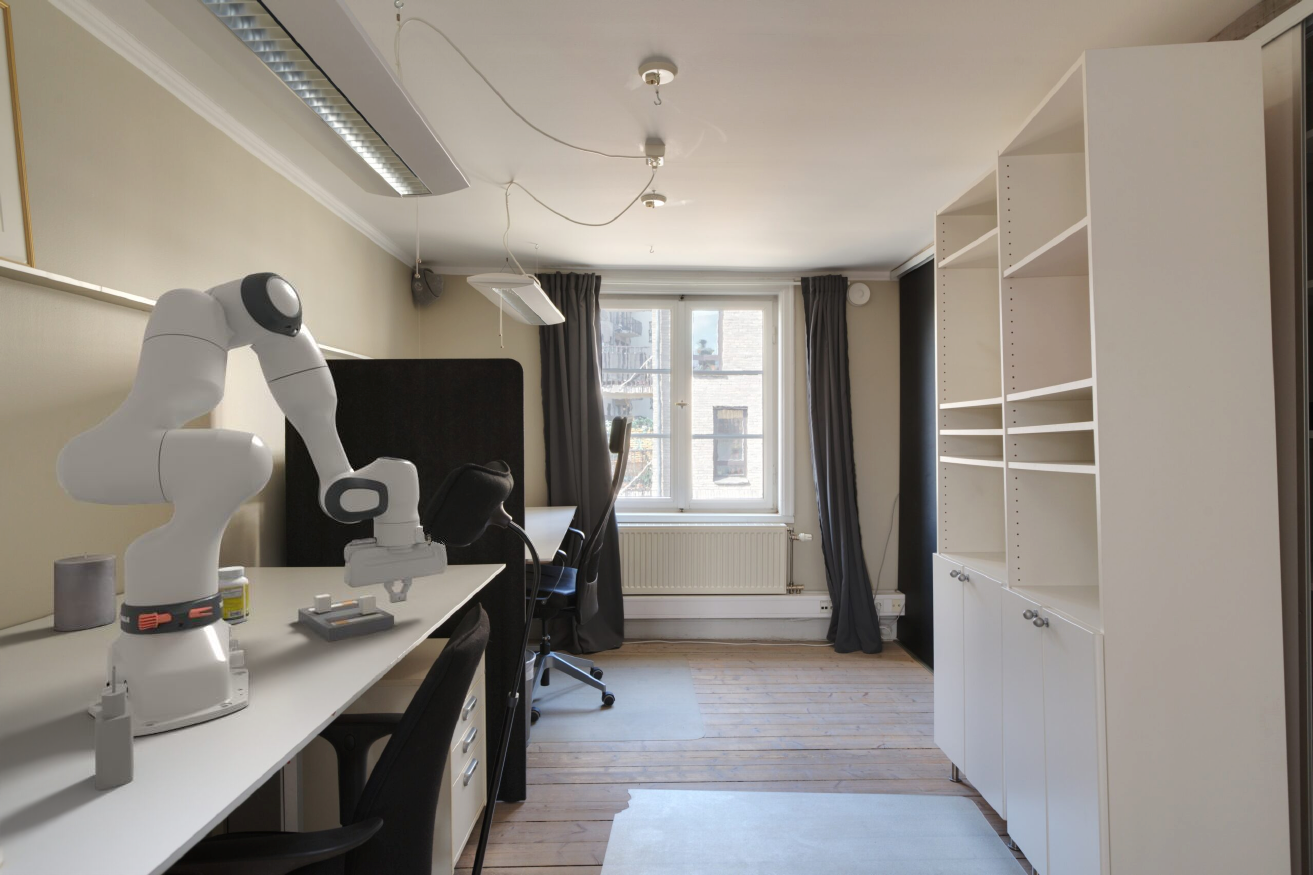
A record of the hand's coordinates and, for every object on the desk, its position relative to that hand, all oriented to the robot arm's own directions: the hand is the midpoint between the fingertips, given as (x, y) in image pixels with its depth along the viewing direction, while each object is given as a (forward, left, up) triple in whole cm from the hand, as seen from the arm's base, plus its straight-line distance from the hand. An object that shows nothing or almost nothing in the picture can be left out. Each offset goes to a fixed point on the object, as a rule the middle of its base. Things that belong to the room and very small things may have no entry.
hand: (398, 601), depth 133 cm
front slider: (0, +6, -1) cm, 6 cm away
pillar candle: (+44, +47, -4) cm, 65 cm away
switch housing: (+4, +9, -4) cm, 11 cm away
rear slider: (+8, +12, -1) cm, 15 cm away
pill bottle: (+24, +25, -4) cm, 35 cm away
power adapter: (-41, +47, -4) cm, 63 cm away
